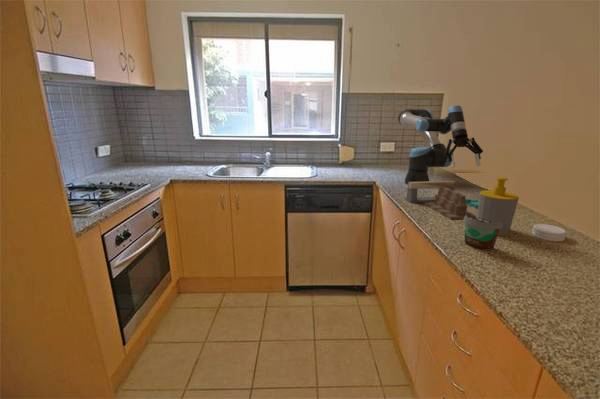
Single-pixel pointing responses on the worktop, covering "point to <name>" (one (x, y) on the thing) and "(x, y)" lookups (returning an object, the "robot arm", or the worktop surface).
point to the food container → (481, 232)
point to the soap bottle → (498, 206)
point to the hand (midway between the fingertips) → (466, 166)
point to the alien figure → (472, 202)
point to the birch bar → (430, 184)
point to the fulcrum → (450, 204)
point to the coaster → (549, 232)
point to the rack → (414, 199)
